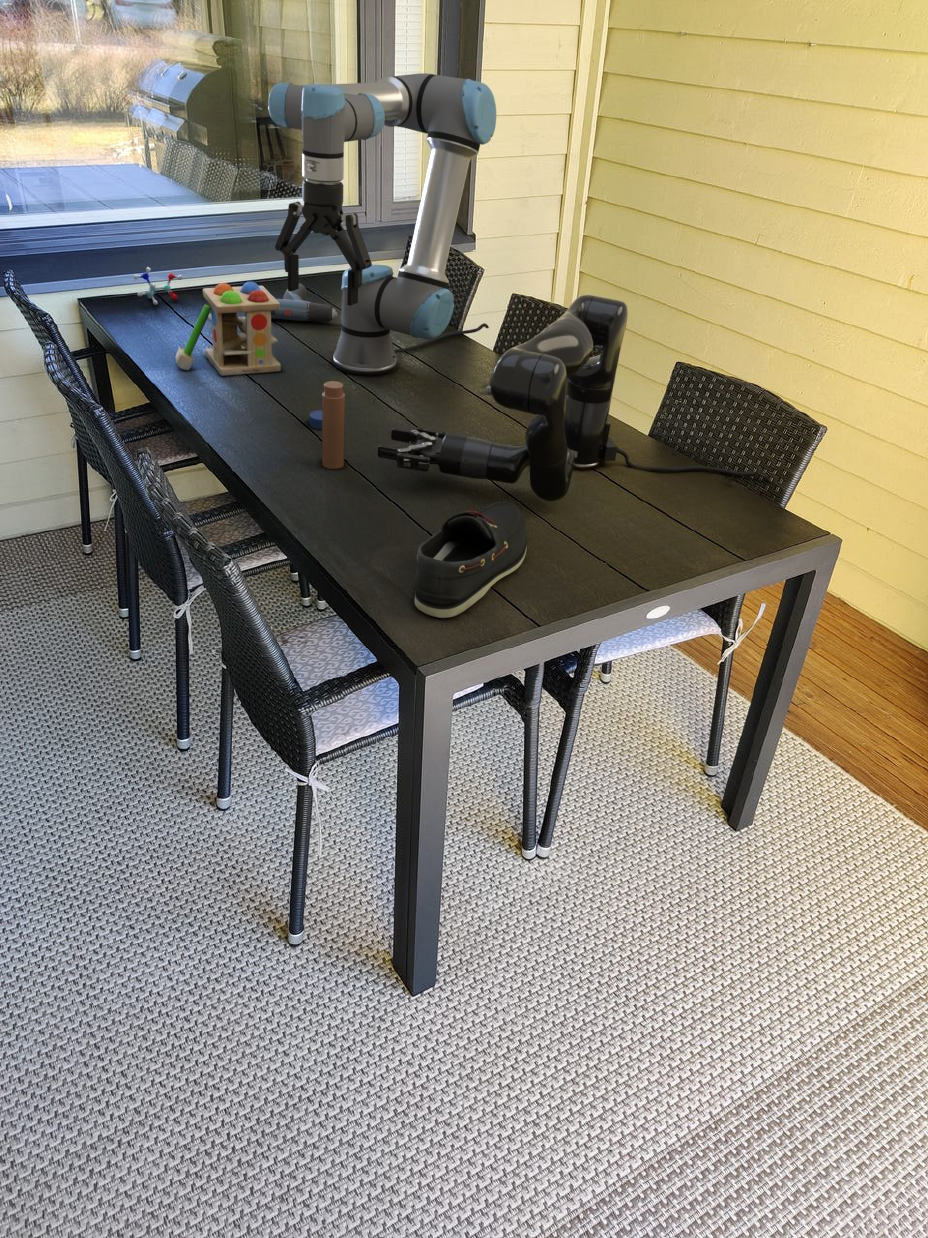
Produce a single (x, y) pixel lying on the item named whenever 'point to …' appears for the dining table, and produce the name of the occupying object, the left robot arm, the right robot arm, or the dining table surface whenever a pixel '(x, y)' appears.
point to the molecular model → (154, 288)
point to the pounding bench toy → (229, 347)
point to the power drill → (302, 308)
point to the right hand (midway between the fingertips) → (385, 442)
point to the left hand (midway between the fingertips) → (322, 296)
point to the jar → (333, 425)
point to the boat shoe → (468, 558)
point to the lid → (316, 419)
